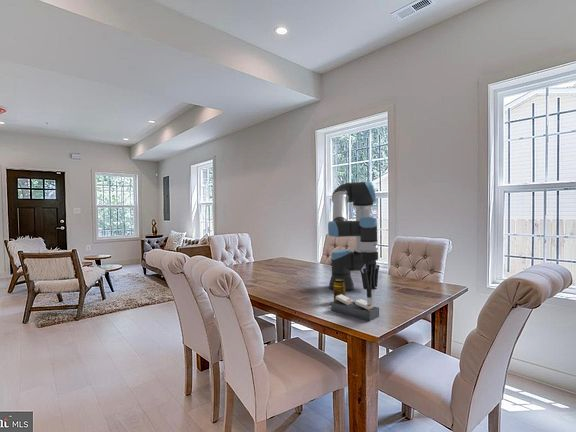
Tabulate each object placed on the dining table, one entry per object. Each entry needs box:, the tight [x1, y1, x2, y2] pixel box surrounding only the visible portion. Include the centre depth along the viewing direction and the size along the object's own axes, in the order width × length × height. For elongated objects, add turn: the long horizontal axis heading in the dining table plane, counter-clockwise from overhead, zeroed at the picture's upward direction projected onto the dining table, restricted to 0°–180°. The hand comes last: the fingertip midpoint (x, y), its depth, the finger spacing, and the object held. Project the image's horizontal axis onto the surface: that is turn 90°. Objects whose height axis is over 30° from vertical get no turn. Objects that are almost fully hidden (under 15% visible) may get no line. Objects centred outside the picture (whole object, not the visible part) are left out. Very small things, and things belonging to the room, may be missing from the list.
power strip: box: [329, 300, 380, 322], centre depth 143 cm, size 25×8×5 cm, turn 44°
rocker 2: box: [354, 298, 375, 310], centre depth 138 cm, size 7×4×2 cm, turn 44°
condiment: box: [333, 279, 346, 301], centre depth 160 cm, size 7×8×12 cm
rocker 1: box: [336, 294, 354, 305], centre depth 146 cm, size 7×4×2 cm, turn 44°
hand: (371, 304), depth 135 cm, fingers closed
